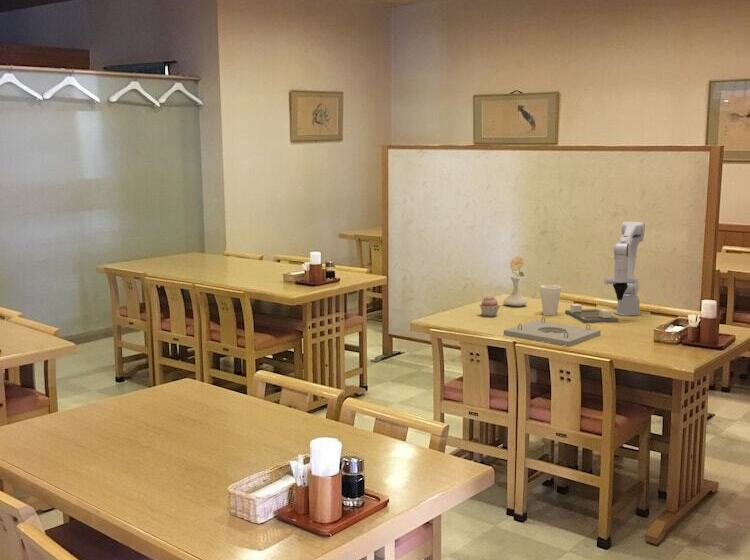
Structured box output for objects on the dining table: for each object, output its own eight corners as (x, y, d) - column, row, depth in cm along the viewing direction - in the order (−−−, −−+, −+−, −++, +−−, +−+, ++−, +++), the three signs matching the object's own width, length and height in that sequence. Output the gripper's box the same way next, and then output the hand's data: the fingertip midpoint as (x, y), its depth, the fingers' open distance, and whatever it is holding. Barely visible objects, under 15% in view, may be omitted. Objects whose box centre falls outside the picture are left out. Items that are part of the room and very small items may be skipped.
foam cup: (554, 317, 378) (555, 289, 376) (536, 314, 383) (537, 287, 381) (563, 313, 385) (564, 286, 383) (545, 311, 391) (546, 284, 389)
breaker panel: (597, 312, 389) (597, 308, 389) (618, 322, 368) (618, 318, 367) (565, 313, 386) (565, 309, 386) (584, 323, 365) (584, 319, 365)
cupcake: (494, 313, 386) (495, 292, 384) (502, 317, 377) (503, 295, 376) (475, 314, 384) (476, 293, 382) (483, 318, 375) (484, 296, 373)
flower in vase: (499, 303, 409) (500, 254, 405) (520, 302, 412) (521, 253, 408) (511, 308, 396) (512, 257, 392) (532, 307, 400) (534, 256, 396)
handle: (578, 310, 385) (578, 303, 385) (581, 311, 381) (581, 305, 381) (570, 310, 384) (570, 304, 384) (573, 312, 381) (573, 305, 380)
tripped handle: (607, 315, 373) (607, 309, 372) (611, 317, 369) (611, 311, 368) (599, 316, 372) (599, 309, 372) (603, 317, 368) (603, 311, 368)
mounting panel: (569, 335, 321) (503, 324, 341) (568, 348, 322) (503, 336, 342) (600, 324, 341) (537, 314, 361) (600, 336, 342) (536, 325, 362)
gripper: (609, 271, 363) (608, 301, 365) (640, 270, 365) (638, 300, 368) (602, 269, 370) (601, 298, 372) (633, 268, 372) (631, 298, 374)
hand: (619, 299), depth 370 cm, fingers closed
